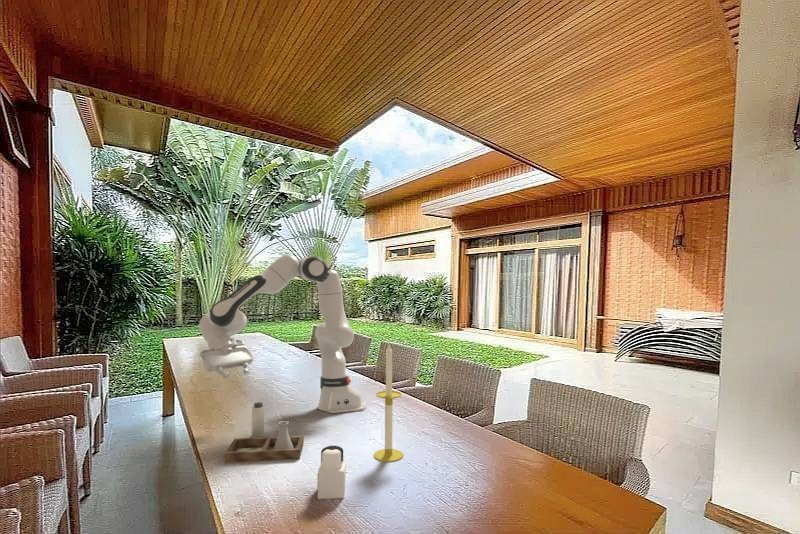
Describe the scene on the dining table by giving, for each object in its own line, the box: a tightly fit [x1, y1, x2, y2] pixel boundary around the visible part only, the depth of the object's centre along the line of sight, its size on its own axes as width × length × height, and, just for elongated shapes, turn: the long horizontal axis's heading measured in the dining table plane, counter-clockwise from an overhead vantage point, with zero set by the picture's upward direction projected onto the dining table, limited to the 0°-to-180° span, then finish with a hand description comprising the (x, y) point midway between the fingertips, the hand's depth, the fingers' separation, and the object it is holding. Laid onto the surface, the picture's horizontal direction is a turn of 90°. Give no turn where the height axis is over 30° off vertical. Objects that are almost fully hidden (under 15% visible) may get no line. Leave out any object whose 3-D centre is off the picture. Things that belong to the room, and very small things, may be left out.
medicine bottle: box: [316, 445, 347, 500], centre depth 113 cm, size 7×7×12 cm
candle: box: [373, 344, 404, 463], centre depth 138 cm, size 10×10×38 cm
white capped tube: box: [251, 401, 265, 438], centre depth 154 cm, size 4×4×12 cm
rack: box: [223, 435, 305, 464], centre depth 138 cm, size 24×12×3 cm, turn 97°
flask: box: [272, 420, 295, 450], centre depth 139 cm, size 7×7×10 cm
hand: (237, 375), depth 161 cm, fingers open, 8 cm apart
